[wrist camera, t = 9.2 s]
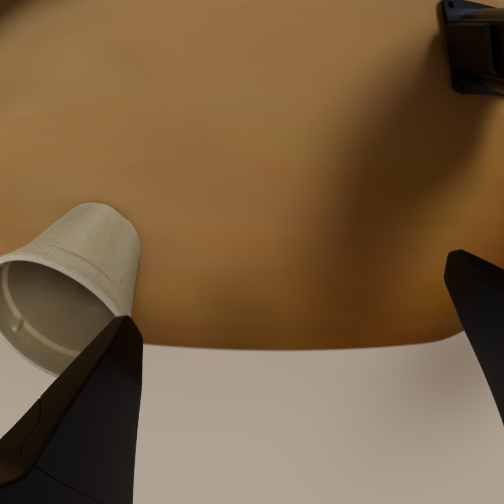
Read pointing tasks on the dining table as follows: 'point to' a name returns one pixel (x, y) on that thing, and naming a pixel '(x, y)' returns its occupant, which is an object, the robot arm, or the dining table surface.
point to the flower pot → (68, 285)
